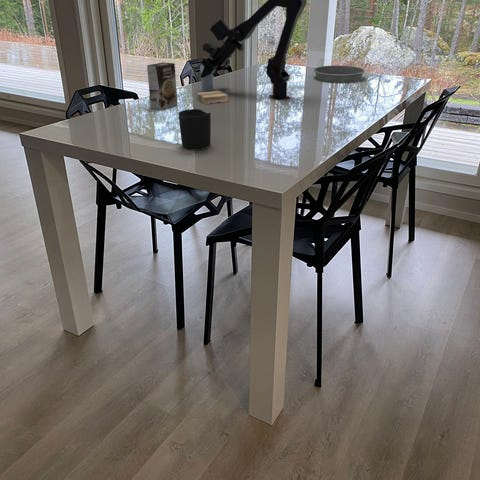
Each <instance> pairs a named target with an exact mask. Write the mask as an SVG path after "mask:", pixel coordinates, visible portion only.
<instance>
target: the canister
mask: <svg viewBox="0 0 480 480" xmlns="http://www.w3.org/2000/svg"><path fill="white" fill-rule="evenodd" d="M203 69H204V66H203V65H202V64H201V65H200V75H201V74H202V71H203ZM213 74H214V73H212V74H210V75H208V76H206V77H204V78H201V77H200V82H201V83H200V85H201V86H200V87H201V92H210V91H214V75H213Z"/></svg>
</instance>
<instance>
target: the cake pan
mask: <svg viewBox="0 0 480 480" xmlns="http://www.w3.org/2000/svg"><path fill="white" fill-rule="evenodd" d="M313 72H314V73H315V78H316V80H317V79H318V81H321V82H324V83H332V84H333V83H335V84H349V83H357V82H360V81H361V79H362V75H363V74H364V73H365V72H366V70H365V69H364V68H362V67H358V66H351V65H338V64H336V65H321V66H317V67H314V69H313Z"/></svg>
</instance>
